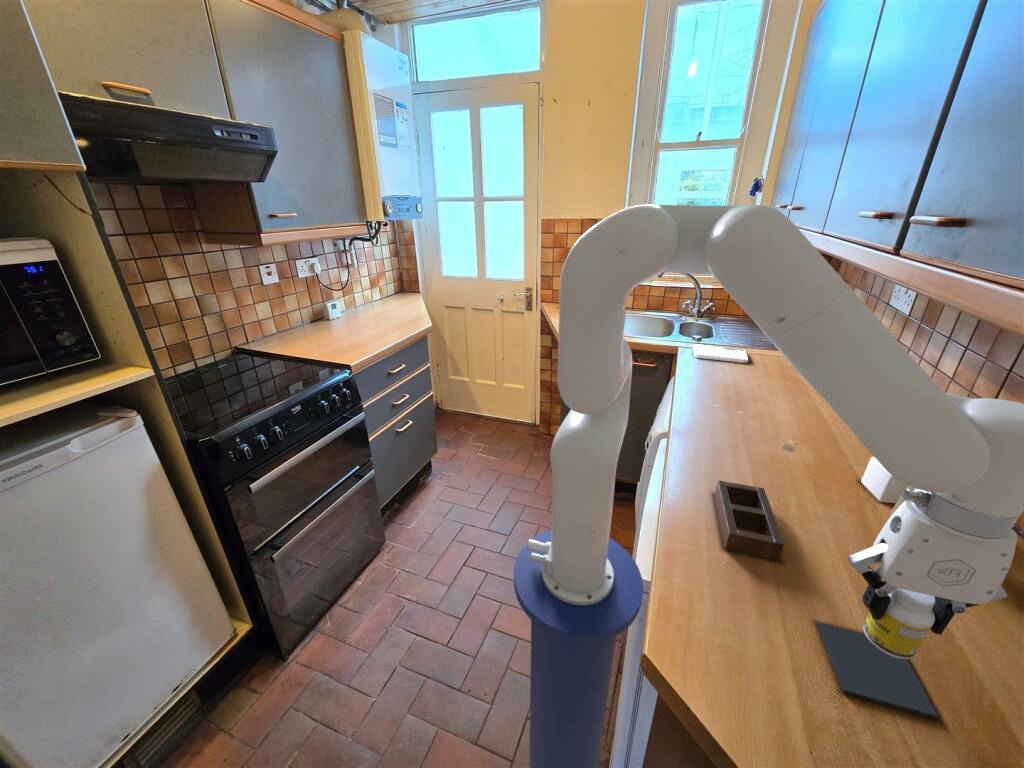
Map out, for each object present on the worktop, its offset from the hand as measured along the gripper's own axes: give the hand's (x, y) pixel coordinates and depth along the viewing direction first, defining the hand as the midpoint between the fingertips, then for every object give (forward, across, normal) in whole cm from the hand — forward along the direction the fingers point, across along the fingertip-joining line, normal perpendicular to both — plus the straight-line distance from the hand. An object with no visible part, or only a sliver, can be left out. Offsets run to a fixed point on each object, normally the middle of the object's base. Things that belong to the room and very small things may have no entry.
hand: (900, 615), depth 52 cm
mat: (+11, 0, 0) cm, 11 cm away
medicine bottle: (+11, +20, +45) cm, 50 cm away
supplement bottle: (+5, 0, 0) cm, 5 cm away
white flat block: (+11, -4, +130) cm, 131 cm away
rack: (+11, -12, +25) cm, 30 cm away
